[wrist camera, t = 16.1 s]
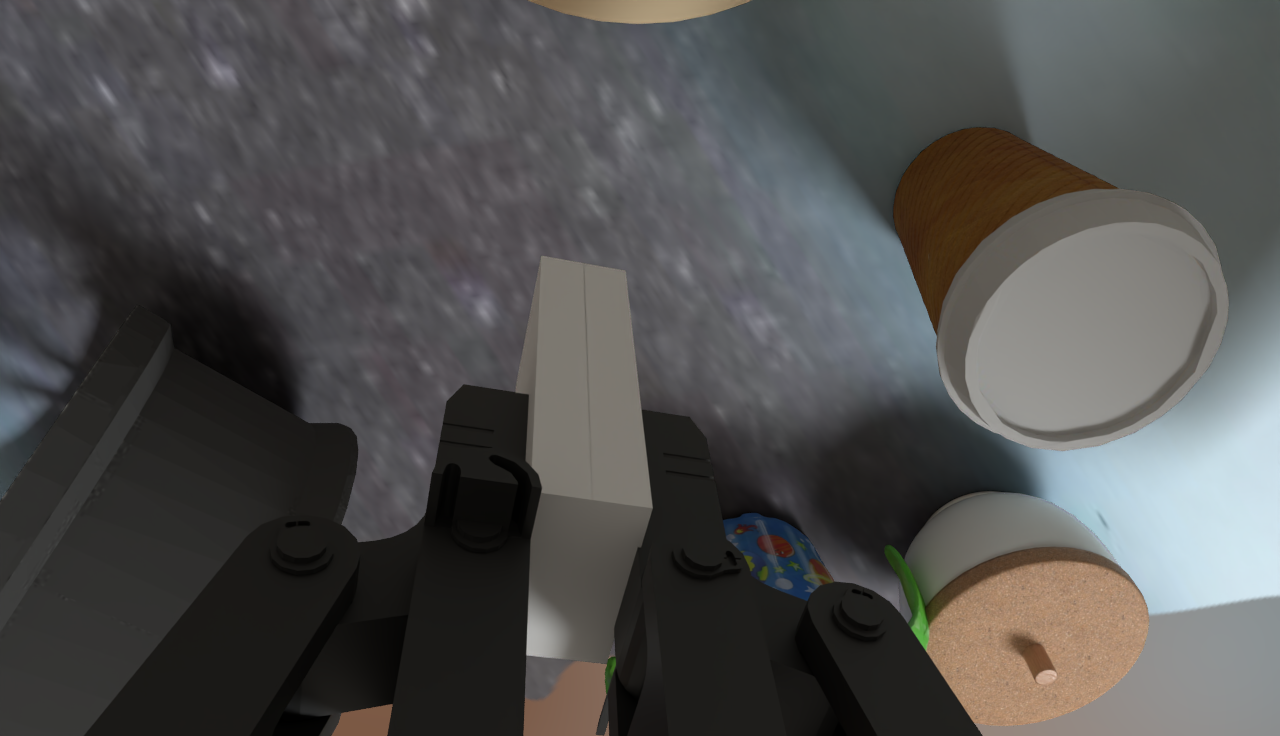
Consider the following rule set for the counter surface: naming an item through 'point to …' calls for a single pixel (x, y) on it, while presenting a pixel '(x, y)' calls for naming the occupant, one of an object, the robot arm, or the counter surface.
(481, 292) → the counter surface
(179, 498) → the wheel rim
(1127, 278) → the disposable coffee cup
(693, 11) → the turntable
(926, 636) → the snack cup
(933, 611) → the lidded jar
